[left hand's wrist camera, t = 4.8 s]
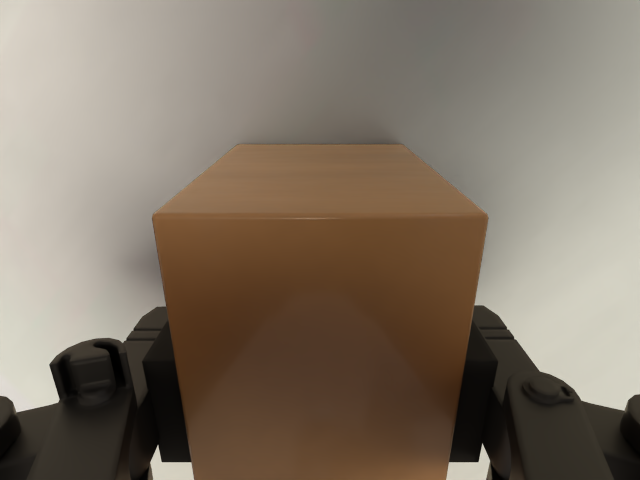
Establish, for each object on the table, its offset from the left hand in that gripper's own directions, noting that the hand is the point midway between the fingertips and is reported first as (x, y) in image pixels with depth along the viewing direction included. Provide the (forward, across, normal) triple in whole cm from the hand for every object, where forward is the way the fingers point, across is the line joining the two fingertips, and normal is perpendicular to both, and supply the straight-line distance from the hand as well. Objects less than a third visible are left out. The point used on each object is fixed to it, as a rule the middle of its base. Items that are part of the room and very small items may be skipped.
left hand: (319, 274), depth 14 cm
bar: (+1, 0, -25) cm, 25 cm away
